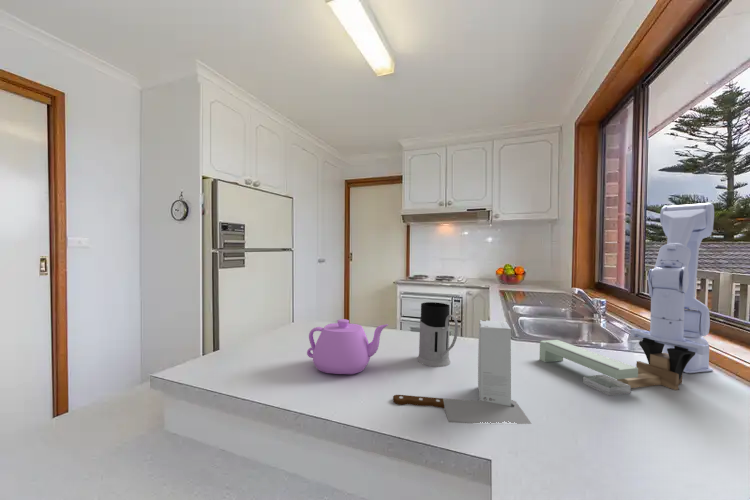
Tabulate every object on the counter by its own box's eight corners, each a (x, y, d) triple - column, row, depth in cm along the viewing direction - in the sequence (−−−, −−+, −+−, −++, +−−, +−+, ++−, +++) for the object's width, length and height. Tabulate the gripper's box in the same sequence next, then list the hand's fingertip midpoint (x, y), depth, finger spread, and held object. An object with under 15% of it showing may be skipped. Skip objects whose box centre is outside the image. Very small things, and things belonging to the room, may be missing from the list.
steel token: (603, 383, 72) (603, 374, 72) (630, 394, 66) (630, 385, 66) (582, 385, 70) (583, 376, 70) (609, 397, 64) (609, 388, 64)
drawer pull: (557, 358, 87) (557, 338, 87) (637, 392, 66) (638, 366, 66) (539, 359, 85) (540, 339, 85) (616, 394, 65) (617, 368, 65)
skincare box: (511, 408, 58) (513, 329, 58) (477, 403, 59) (479, 326, 59) (506, 389, 66) (508, 320, 66) (476, 385, 67) (478, 317, 67)
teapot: (297, 376, 69) (299, 324, 69) (314, 356, 83) (315, 312, 83) (385, 382, 68) (387, 329, 68) (388, 360, 81) (389, 316, 81)
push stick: (653, 373, 77) (654, 349, 77) (694, 387, 69) (694, 361, 69) (604, 378, 73) (605, 353, 73) (641, 394, 65) (642, 366, 65)
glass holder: (438, 353, 88) (440, 301, 88) (470, 372, 74) (472, 311, 74) (411, 356, 85) (413, 302, 85) (439, 377, 71) (441, 312, 71)
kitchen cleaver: (391, 417, 52) (393, 388, 62) (391, 423, 53) (393, 393, 62) (540, 431, 50) (517, 399, 60) (539, 437, 50) (517, 404, 60)
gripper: (622, 312, 79) (620, 365, 79) (693, 326, 65) (691, 390, 64) (642, 311, 80) (641, 363, 80) (716, 324, 66) (714, 387, 66)
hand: (665, 375), depth 73 cm, fingers closed on push stick, 3 cm apart
